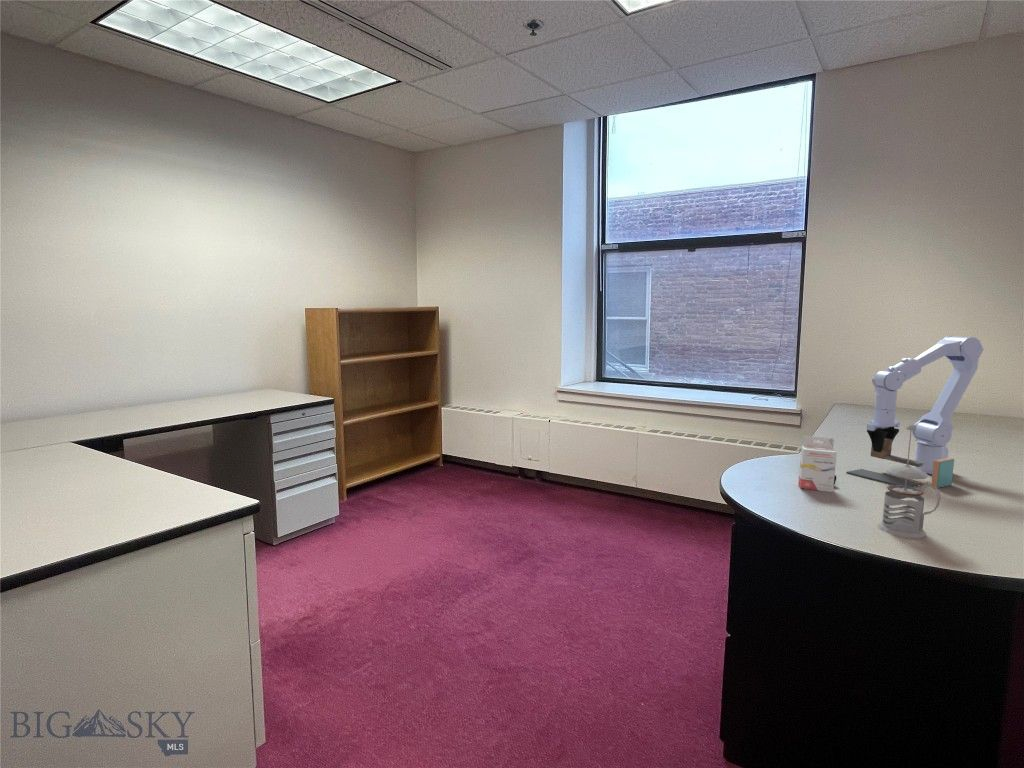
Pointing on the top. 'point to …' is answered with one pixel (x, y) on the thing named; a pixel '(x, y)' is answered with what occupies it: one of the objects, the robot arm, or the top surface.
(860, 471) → the tool mat
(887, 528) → the french press
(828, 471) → the ink cartridge box
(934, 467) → the tile
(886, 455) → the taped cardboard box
